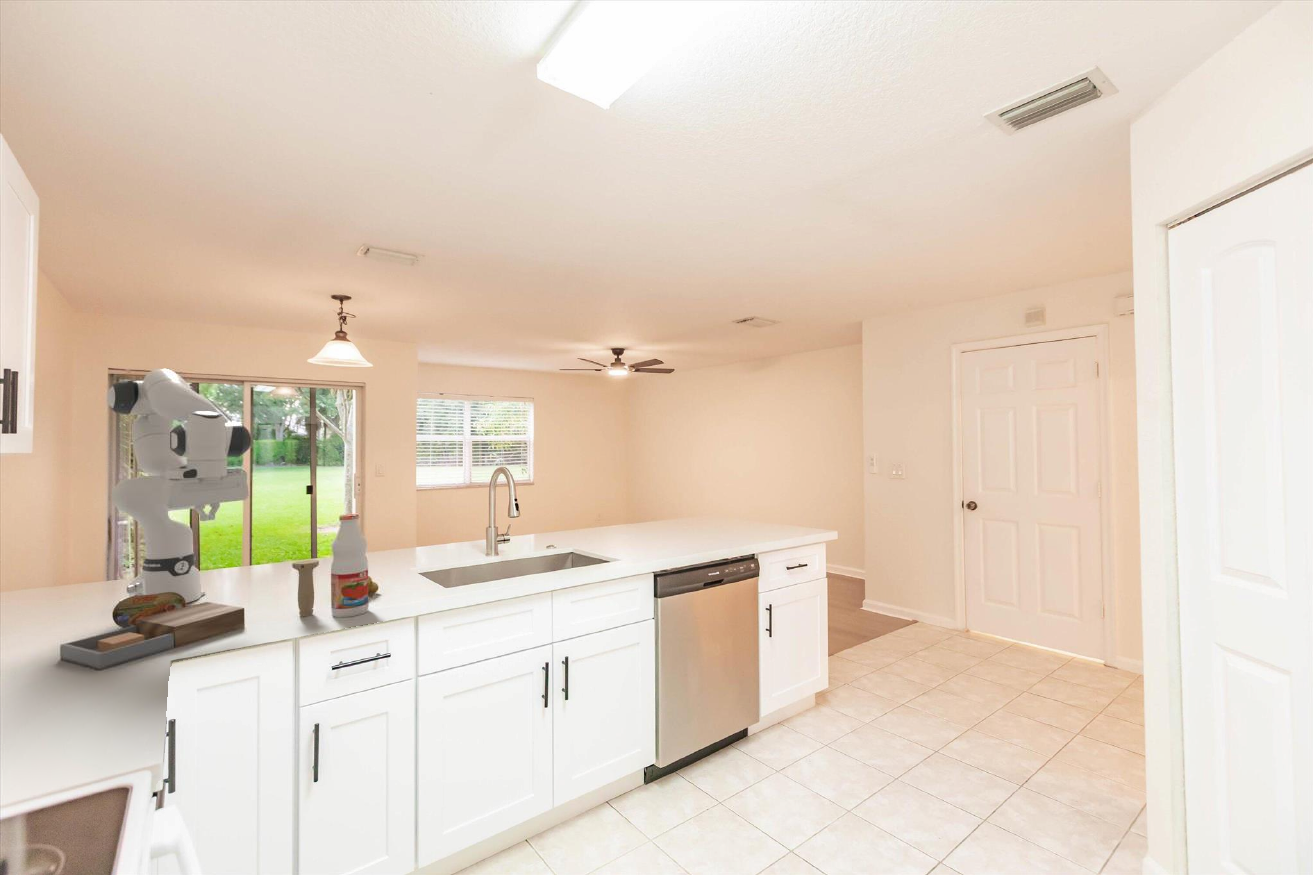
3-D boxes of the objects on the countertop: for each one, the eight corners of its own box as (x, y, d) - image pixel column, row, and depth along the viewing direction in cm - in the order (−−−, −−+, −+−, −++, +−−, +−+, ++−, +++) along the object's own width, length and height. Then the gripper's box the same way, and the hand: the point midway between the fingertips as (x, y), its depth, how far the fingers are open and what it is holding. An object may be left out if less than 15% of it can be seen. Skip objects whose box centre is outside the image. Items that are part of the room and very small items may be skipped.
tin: (112, 631, 151) (111, 599, 151) (116, 627, 154) (116, 596, 154) (184, 622, 158) (184, 591, 158) (187, 618, 161) (187, 588, 161)
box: (60, 659, 131) (60, 644, 131) (135, 639, 144) (134, 625, 144) (99, 670, 125) (99, 654, 125) (173, 648, 138) (173, 633, 138)
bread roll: (379, 591, 188) (379, 566, 188) (376, 598, 179) (376, 573, 179) (335, 595, 183) (334, 570, 183) (329, 603, 174) (329, 577, 174)
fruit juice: (352, 606, 171) (351, 512, 171) (376, 609, 167) (374, 513, 167) (323, 615, 162) (322, 516, 162) (348, 619, 159) (346, 517, 158)
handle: (315, 616, 161) (315, 563, 161) (290, 618, 160) (289, 564, 160) (321, 611, 166) (321, 559, 166) (296, 613, 165) (296, 560, 164)
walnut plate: (136, 639, 144) (136, 619, 144) (206, 619, 159) (206, 601, 159) (175, 647, 138) (174, 626, 138) (244, 626, 153) (244, 607, 153)
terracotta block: (129, 632, 139) (130, 644, 139) (98, 640, 133) (98, 653, 134) (144, 635, 137) (144, 647, 137) (112, 643, 131) (112, 656, 131)
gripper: (239, 467, 170) (239, 514, 170) (157, 472, 151) (157, 525, 151) (253, 468, 167) (253, 515, 167) (171, 473, 148) (171, 526, 149)
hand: (207, 520), depth 159 cm, fingers closed
